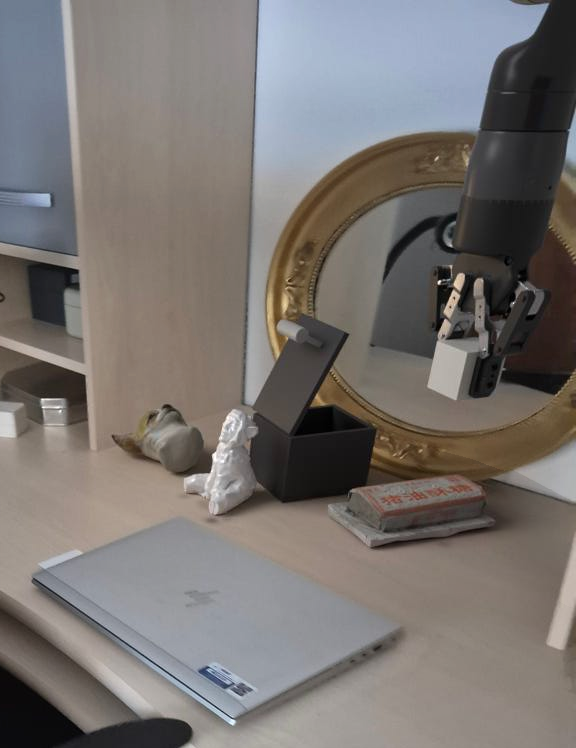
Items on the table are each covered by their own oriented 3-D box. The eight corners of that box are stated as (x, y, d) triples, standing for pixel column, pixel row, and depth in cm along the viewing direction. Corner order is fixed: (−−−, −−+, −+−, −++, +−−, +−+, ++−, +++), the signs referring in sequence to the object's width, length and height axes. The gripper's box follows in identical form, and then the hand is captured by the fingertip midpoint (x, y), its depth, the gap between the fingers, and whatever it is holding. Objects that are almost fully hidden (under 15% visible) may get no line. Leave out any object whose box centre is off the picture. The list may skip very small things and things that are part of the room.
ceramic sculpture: (160, 421, 111) (106, 397, 123) (159, 483, 115) (107, 455, 127) (226, 410, 115) (168, 387, 127) (222, 470, 120) (167, 444, 131)
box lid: (306, 315, 109) (276, 299, 107) (349, 334, 101) (319, 318, 98) (255, 410, 114) (227, 397, 112) (293, 436, 106) (263, 423, 104)
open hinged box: (325, 463, 122) (334, 403, 117) (365, 491, 114) (377, 428, 109) (247, 473, 119) (253, 412, 114) (282, 502, 111) (290, 438, 106)
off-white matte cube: (465, 383, 84) (476, 336, 82) (495, 396, 80) (508, 348, 78) (426, 387, 83) (437, 340, 80) (456, 401, 79) (467, 352, 77)
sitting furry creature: (179, 489, 114) (184, 403, 108) (233, 480, 117) (241, 394, 111) (213, 517, 107) (221, 425, 100) (270, 506, 110) (282, 416, 103)
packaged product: (451, 464, 109) (504, 493, 101) (443, 498, 112) (494, 529, 104) (330, 480, 105) (376, 513, 97) (324, 515, 107) (368, 550, 99)
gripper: (608, 198, 67) (546, 407, 77) (489, 181, 79) (448, 366, 88) (531, 202, 65) (477, 416, 75) (421, 184, 77) (386, 372, 86)
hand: (461, 388), depth 82 cm, fingers closed on off-white matte cube, 4 cm apart
